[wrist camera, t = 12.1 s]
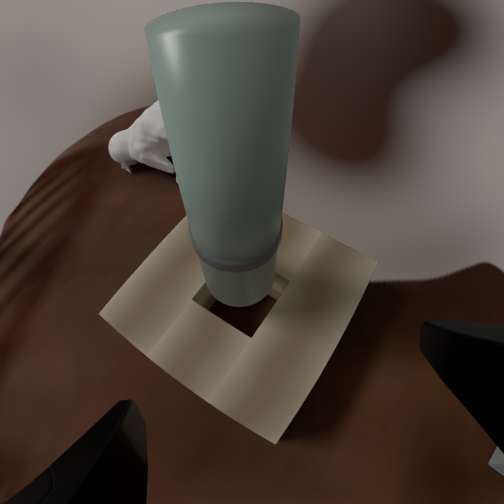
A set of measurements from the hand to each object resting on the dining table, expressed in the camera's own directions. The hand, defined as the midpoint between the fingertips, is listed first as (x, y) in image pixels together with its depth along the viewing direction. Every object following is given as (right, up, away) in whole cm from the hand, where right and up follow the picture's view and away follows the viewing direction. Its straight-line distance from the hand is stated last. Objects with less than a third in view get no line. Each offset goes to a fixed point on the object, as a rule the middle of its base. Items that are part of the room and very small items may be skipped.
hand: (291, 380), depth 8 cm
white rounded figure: (-11, +13, +24) cm, 30 cm away
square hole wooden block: (-2, -1, +15) cm, 15 cm away
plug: (-2, +2, +10) cm, 10 cm away
